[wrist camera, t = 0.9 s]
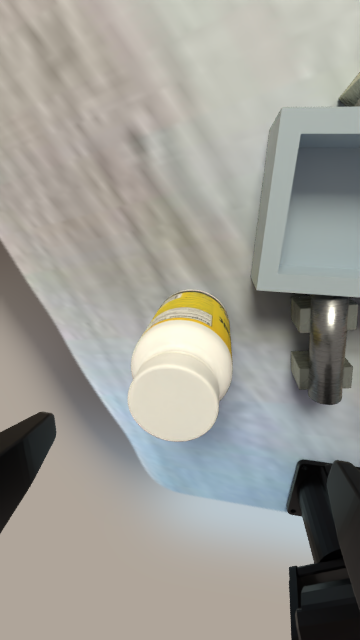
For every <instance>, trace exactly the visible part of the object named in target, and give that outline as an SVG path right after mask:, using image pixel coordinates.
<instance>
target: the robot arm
mask: <svg viewBox="0 0 360 640" xmlns="http://www.w3.org/2000/svg"><path fill="white" fill-rule="evenodd" d="M55 437H56V426H55V418H54V415H53V414H52V413H47V412H39V413H37V414H35V415H33V416H31V417H29V418H27V419H25V420H23V421H21V422H20V423H18V424H16V425H14V426H12V427H10V428H8V429H6V430H4V431H2V432H0V533H1V532H2V530H3V528H4V527H5V525H6V524H7V522H8V520H9V519H10V517H11V516H12V514H13V513H14V511H15V509H16V508H17V506H18V505H19V503H20V502H21V500H22V499H23V497H24V495H25V494H26V492H27V491H28V489H29V487H30V486H31V484H32V482H33V480H34V479H35V477H36V474H37V473H38V471H39V469H40V467H41V465H42V463H43V461H44V459H45V457H46V455H47V453H48V451H49V449H50V447H51V446H52V444H53V442H54V439H55ZM287 511H288V513H289V514H291V515H297V516H302V517H303V521H304V524H305V529H306V532H307V536H308V540H309V544H310V548H311V552H312V556H313V560H314V564H310V565H305V566H300V567H297V566H292V567H289V577H290V580H289V592H290V615H291V638H292V640H360V467H355V466H354V465H353V464H351V463H349V462H345V461H339V460H336V461H334V463H333V464H331V463H324V462H317V461H310V460H300V461H299V462H298V464H297V468H296V472H295V476H294V480H293V484H292V487H291V491H290V495H289V499H288V503H287Z"/></svg>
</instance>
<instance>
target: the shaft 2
mask: <svg viewBox="0 0 360 640" xmlns="http://www.w3.org/2000/svg"><path fill="white" fill-rule="evenodd" d="M339 100H340V101H341V102H342V103H343V104H344V105H345V106H346V107H360V73H359V74H358V75H357V76H356V78H355V79H354V80H353V81H352V83H351V84H350V85H349V86H348V88H347V89H346V90H345V91H344V93H343V94H342V95H341V96H340V98H339Z"/></svg>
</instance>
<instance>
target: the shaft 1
mask: <svg viewBox="0 0 360 640" xmlns="http://www.w3.org/2000/svg"><path fill="white" fill-rule="evenodd" d="M357 315H358V304H357V303H356V302H354V301H353V300H351V299H350V298H349V297H347V296H332V295H318V294H311V296H300V297H291V320H292V321H293V323H294V324H295V326H296V328H297V329H298V331H299V332H300V333H310V338H309V350H308V351H291V371H292V373H293V376H294V378H295V380H296V383H297V385H298V387H299V390H304V389H308V395H309V397H310V398H311V399H312V400H314V401H315V402H318V403H321V404H326V405H333V404H337V403H339V402H340V401H341V399H342V388H351V383H352V372H353V366H352V365H351V364H350V363H349V362H348V360H347V359H346V358H345V348H346V335H347V330H356V327H357Z"/></svg>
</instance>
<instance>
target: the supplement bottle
mask: <svg viewBox="0 0 360 640" xmlns="http://www.w3.org/2000/svg"><path fill="white" fill-rule="evenodd" d="M131 372H132V377H133V381H132V383H131V385H130V388H129V392H128V406H129V409H130V412H131V414H132V416H133V418H134V420H135V421H136V422H137V423H138V425H139V426H140V427H142V428H143V429H144V430H145V431H146V432H148V433H149V434H151V435H153V436H155V437H157V438H160V439H163V440H167V441H174V442H181V441H189V440H193V439H196V438H198V437H200V436H202V435H203V434H205V433H206V432H207V431H208V430H209V429H210V428H211V427H212V426H213V424H214V423H215V421H216V419H217V416H218V411H219V401H220V400H221V399H222V398H223V397H224V395H225V394H226V392H227V390H228V388H229V386H230V383H231V380H232V372H233V364H232V352H231V337H230V326H229V319H228V315H227V312H226V310H225V308H224V306H223V305H222V304H221V302H220V301H219V300H218V299H217V298H215V297H214V296H212V295H211V294H209V293H206V292H204V291H200V290H183V291H180V292H177V293H175V294H173V295H171V296H170V297H169V298H168V299H167V300H166V301H165V302H164V303H163V304H162V305H161V307H160V308H159V310H158V311H157V313H156V315H155V316H154V318H153V319H152V321H151V322H150V324H149V326H148V327H147V329H146V330H145V332H144V333H143V335H142V337H141V338H140V340H139V341H138V343H137V345H136V347H135V349H134V352H133V355H132V360H131Z"/></svg>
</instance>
